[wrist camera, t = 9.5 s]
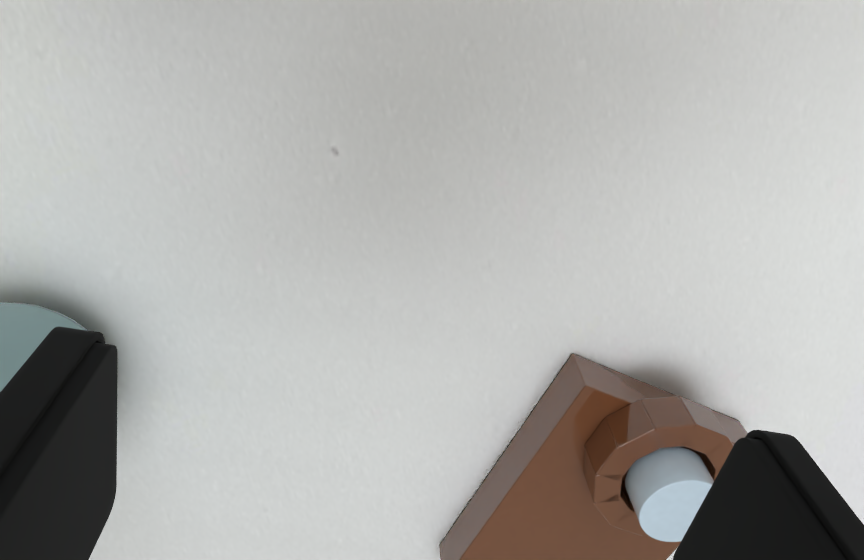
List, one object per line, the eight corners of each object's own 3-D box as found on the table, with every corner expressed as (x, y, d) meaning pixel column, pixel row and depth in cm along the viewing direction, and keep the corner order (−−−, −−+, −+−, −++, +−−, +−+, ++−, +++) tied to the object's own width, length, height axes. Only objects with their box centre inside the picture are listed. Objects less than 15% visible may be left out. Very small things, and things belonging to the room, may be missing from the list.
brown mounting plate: (586, 332, 31) (614, 392, 27) (754, 402, 34) (802, 466, 30) (439, 544, 38) (444, 619, 34) (590, 591, 40) (612, 665, 36)
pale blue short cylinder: (654, 435, 29) (672, 470, 27) (721, 461, 30) (742, 496, 28) (609, 492, 31) (622, 528, 29) (673, 515, 32) (690, 551, 30)
